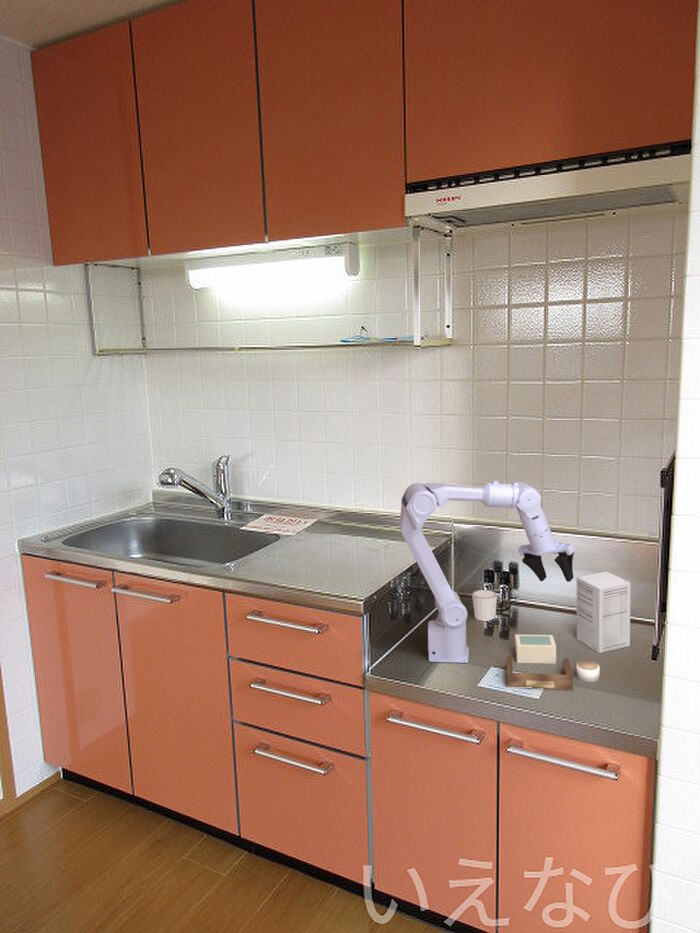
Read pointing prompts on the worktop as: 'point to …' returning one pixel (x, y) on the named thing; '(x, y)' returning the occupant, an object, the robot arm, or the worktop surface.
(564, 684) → the display stand
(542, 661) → the carton
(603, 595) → the supplement box
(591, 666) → the salt pot
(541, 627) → the worktop surface
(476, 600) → the beige tapered cup
